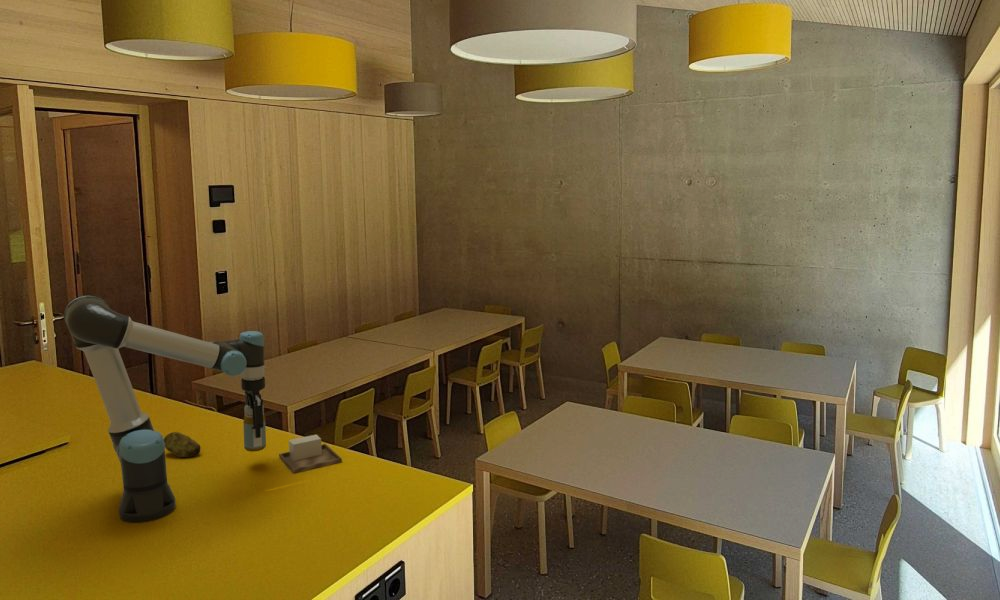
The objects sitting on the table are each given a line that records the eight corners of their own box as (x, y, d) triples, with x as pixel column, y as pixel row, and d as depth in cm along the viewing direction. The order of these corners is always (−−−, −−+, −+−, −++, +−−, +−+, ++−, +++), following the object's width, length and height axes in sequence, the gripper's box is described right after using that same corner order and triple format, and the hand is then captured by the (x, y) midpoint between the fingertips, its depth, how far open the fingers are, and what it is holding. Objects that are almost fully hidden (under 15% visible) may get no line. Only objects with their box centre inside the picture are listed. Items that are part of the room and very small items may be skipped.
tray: (293, 475, 231) (293, 469, 231) (279, 459, 244) (279, 453, 244) (341, 463, 240) (341, 458, 240) (325, 449, 253) (325, 443, 253)
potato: (183, 462, 241) (181, 441, 239) (160, 455, 247) (158, 434, 246) (204, 454, 248) (202, 433, 247) (181, 447, 254) (179, 427, 253)
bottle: (252, 453, 231) (250, 410, 228) (240, 448, 235) (238, 406, 233) (270, 448, 236) (269, 405, 234) (258, 443, 240) (257, 401, 238)
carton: (294, 460, 241) (293, 444, 240) (289, 456, 245) (288, 440, 244) (321, 454, 247) (321, 438, 246) (317, 450, 251) (316, 434, 250)
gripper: (272, 382, 226) (274, 449, 230) (257, 369, 241) (258, 432, 245) (248, 385, 222) (250, 454, 226) (234, 372, 237) (236, 436, 241)
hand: (255, 442), depth 235 cm, fingers closed on bottle, 6 cm apart
